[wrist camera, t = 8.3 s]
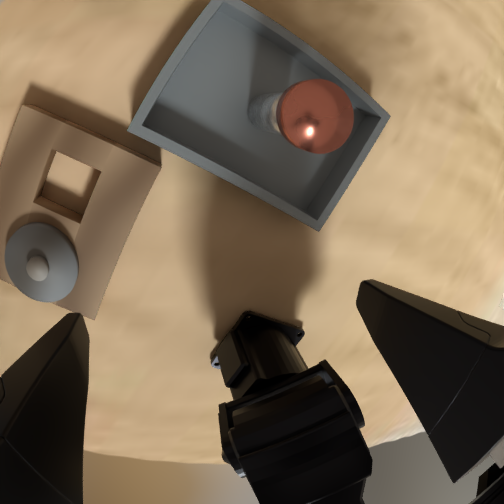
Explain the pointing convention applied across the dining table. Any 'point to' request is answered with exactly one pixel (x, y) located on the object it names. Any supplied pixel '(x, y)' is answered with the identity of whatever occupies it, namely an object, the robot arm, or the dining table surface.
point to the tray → (236, 105)
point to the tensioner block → (66, 211)
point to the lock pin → (306, 115)
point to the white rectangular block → (502, 303)
